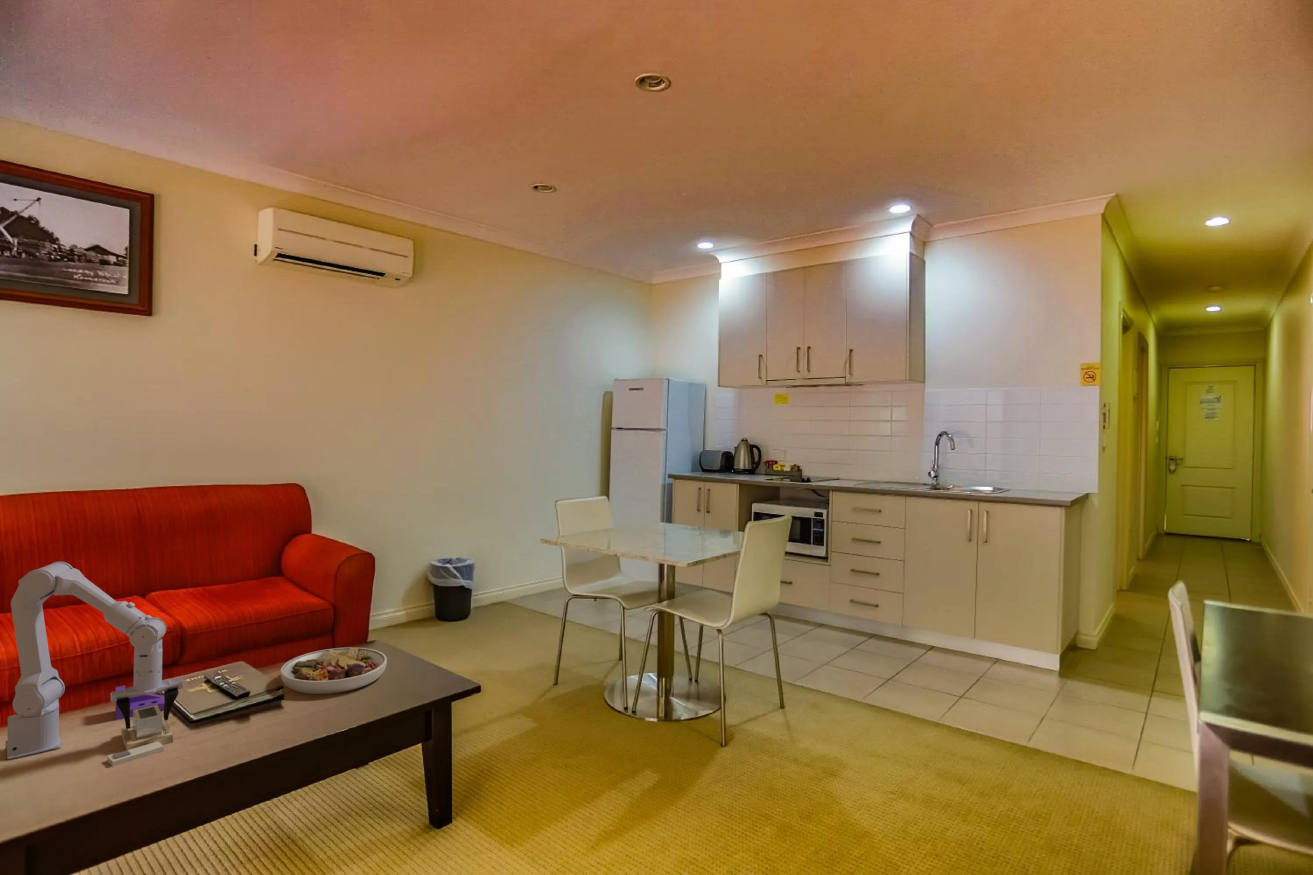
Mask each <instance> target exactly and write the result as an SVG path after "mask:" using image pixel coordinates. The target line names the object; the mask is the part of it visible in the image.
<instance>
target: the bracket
mask: <svg viewBox="0 0 1313 875" xmlns="http://www.w3.org/2000/svg"><path fill="white" fill-rule="evenodd" d="M126 688H127V687H126V685H121V686H116V687H115V691H119V690H123V689H126ZM129 700H130V718H133V710H135V709H140V708H145V707H150V706H155V705H158V707H159V709H160V712H164V694H157V693H153V694H148V695H143V696H137V697H132V698H129ZM114 707H115V708H114V709H115V720H116V721H117V720H118V721H120V720H125V719H124V716H123V714H122V712H121V710H120V709H119V707H118V706H117V703H116V702H115V706H114ZM172 708H173V706H172V707H171V710H172Z"/></svg>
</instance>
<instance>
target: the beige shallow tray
mask: <svg viewBox="0 0 1313 875" xmlns="http://www.w3.org/2000/svg"><path fill="white" fill-rule="evenodd" d="M121 738H122V740H123V743H124V747H125V751H127V750H130V749H134V748H137V747H140V746H144V745H147V744H150V743H154V742H157V741H158V742H159V743H161V744H162V745H166V744H171V743H173V740H174V739H173V738H174V734H173V731H172V730H171V727H170V725H169V723H168V720H164V717H162V735H159V736H155V737H151V738H147V739H142V740H138V741H137V740H136V738H135V735H134V732H133V724H130V728H129V729H126V725H125V726H122V727H121Z"/></svg>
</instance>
